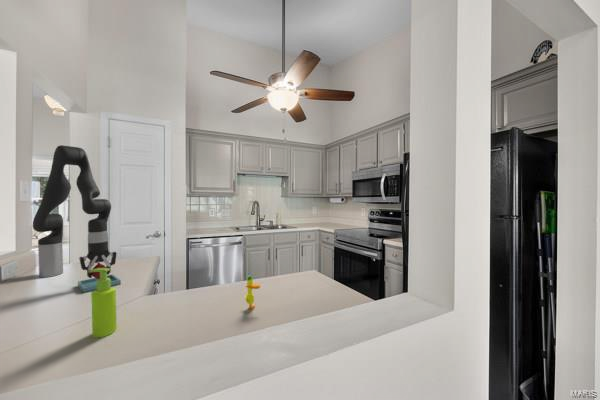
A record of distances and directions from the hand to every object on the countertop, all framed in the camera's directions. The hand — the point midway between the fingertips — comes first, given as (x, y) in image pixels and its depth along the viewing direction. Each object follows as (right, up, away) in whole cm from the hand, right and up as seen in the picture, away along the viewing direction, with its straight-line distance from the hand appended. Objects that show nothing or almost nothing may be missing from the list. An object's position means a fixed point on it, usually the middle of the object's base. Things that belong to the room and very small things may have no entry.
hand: (99, 275), depth 117 cm
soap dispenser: (+35, -5, -41) cm, 54 cm away
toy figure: (+78, -4, -25) cm, 82 cm away
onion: (0, -2, 0) cm, 2 cm away
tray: (0, -5, 0) cm, 5 cm away
